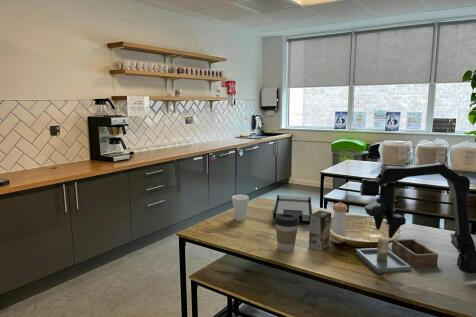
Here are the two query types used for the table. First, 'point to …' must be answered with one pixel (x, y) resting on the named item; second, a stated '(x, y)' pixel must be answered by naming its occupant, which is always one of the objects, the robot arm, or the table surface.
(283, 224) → the coffee cup
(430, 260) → the pin trough
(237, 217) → the foam cup
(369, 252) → the tray
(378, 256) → the dowel pin
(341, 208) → the pepper shaker
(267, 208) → the table surface
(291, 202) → the office tray
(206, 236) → the table surface
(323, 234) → the coffee box
